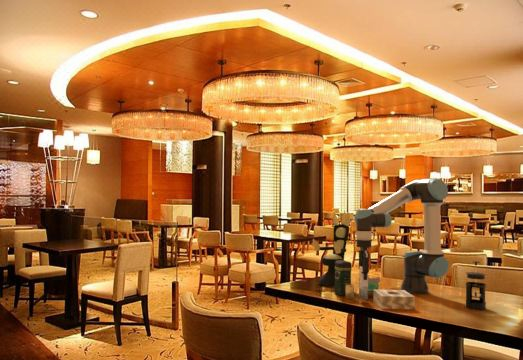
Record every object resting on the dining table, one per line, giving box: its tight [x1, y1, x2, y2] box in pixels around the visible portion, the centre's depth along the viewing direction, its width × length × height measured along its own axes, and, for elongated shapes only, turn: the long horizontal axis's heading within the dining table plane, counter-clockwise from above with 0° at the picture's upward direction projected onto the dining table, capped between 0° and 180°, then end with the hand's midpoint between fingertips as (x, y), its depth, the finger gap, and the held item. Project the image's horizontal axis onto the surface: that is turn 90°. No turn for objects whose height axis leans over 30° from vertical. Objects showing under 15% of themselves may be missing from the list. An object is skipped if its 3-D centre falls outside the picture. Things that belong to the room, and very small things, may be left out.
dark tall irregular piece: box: [311, 210, 352, 288], centre depth 279 cm, size 19×22×45 cm
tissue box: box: [372, 289, 416, 310], centre depth 227 cm, size 16×16×6 cm
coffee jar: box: [333, 259, 353, 297], centre depth 251 cm, size 10×8×19 cm
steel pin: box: [358, 265, 369, 300], centre depth 233 cm, size 4×4×16 cm
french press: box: [465, 260, 487, 311], centre depth 226 cm, size 12×9×23 cm
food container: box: [368, 276, 381, 298], centre depth 248 cm, size 12×6×10 cm, turn 105°
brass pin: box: [344, 283, 355, 300], centre depth 241 cm, size 4×4×7 cm
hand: (363, 285), depth 233 cm, fingers closed on steel pin, 4 cm apart
